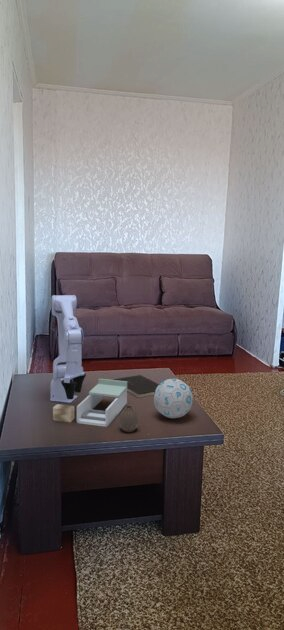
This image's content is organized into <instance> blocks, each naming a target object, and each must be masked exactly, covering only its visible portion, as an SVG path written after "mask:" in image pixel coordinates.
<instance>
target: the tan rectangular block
mask: <svg viewBox="0 0 284 630" xmlns="http://www.w3.org/2000/svg"><path fill="white" fill-rule="evenodd" d="M74 419H75V405H67V404H59V403H58V404H57V403H56V404H55V405H54V406H53V407H52V420H53V421H57V422H65V423H72V421H73V420H74Z"/></svg>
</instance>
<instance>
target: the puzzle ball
mask: <svg viewBox="0 0 284 630" xmlns="http://www.w3.org/2000/svg"><path fill="white" fill-rule="evenodd" d="M158 384H159V385H158V387H157V388H156V390H155V394H154V395H153V402H154V403H153V404H154V407H155V408H156V410H157V411H158V413H160V414H161V415H163V416H164V417H166V418H168V419H180V418H182V417H184V416H185V415H186V414H188V412H189V411H190V410H191V409H192V406H193V401H194V396H193V392H192V389H191V388H190V386H189V385H188V384H187V383H186V382H185V381H183V380H182V379H178V378H168V379H166V380H163V381H161V382H160V383H158Z"/></svg>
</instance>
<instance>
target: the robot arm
mask: <svg viewBox="0 0 284 630" xmlns="http://www.w3.org/2000/svg"><path fill="white" fill-rule="evenodd" d="M50 299H51V300H50V301H51V302H50V304H51V314H52V316H54V317H56V320H57V333H58V336H57V337H58V350H59V351H58V353H59V355H58V356H57V357H56V358H55V359H54V360H53V362H52V375H53V378H52V379H51V381H50V384H49V385H50V386H49V387H50V395H49V396H50V398H49V401H50V402H51V401H52V402H59V403H66V404H71V403H72V402H74V401H75V400H76V399H77V398H78V395H75V393H81V391H82V387H83V383H84V380H85V378H86V377H87V375H86V372H84V367H83V366H82V365H83V364H82V363H83V362H82V360H83V359H82V356H83V355H82V353H83V351H82V350H83V349H82V348H83V347H82V345H83V344H84V331H83V328H82V327H80V324H79V321H78V319H77V317H76V316H74V315H75V312H76V309H77V304H78V302H77V300H78V299H77V296H76V295H75V294H71V295H69V294H68V295H60V294H59V295H55V294H52V296H51V297H50Z"/></svg>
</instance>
